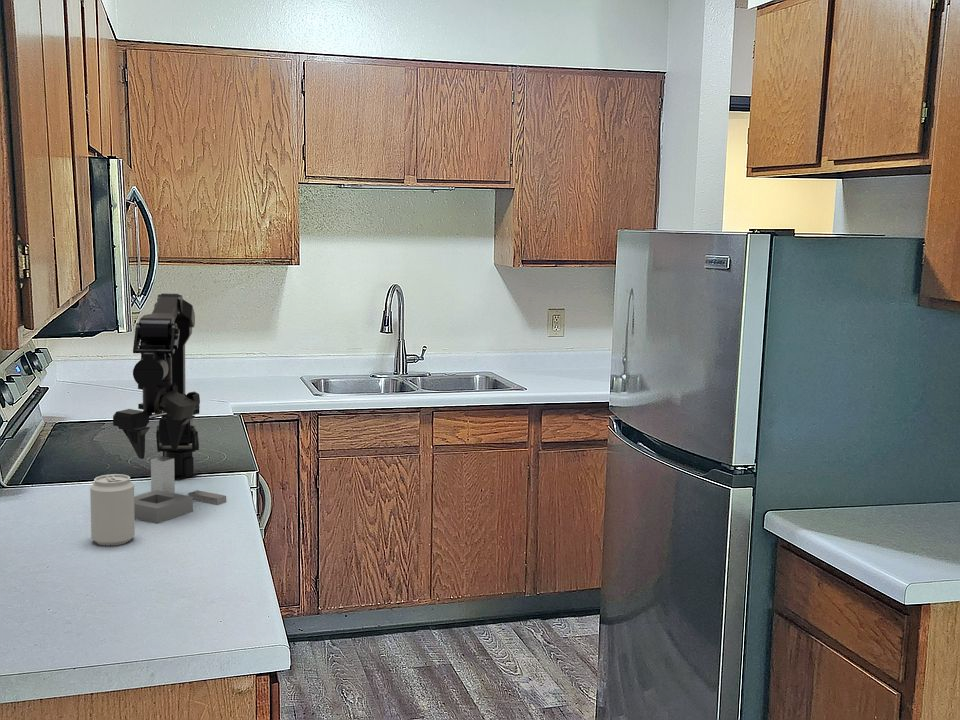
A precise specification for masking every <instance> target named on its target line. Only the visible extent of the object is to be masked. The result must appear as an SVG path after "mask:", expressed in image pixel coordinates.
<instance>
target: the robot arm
mask: <svg viewBox="0 0 960 720" xmlns="http://www.w3.org/2000/svg"><path fill="white" fill-rule="evenodd" d="M195 313H196V312H195V310H194V307H193V305H192V304H191V303H189V302H188V301H186V300H185V299H184V298H183V294H179V293H168V292H167V293H160V294H157V298H156V302H155V303H154V306H153V310H152V312H151V313H150V314H143V316H141V317H140V318H139V321H138V322H137V323H135V329H134V338H133V339H134V340H133V346H132V348H133V349H132V354H140V360H139V361H138V362H136V364H135V365H134V367H133V370H132V377H133V379H134V382H135V383H136V384H137V389H138V390H142V403H141V402H140V403H137V405H138V406H137V408H138V409H133V408H127V409H121V410H118V411H115V412H114V414H113V415H112V426H115V427H118V429H119V430H122V431H123V433H124V435H125V436H126V438H127V439H128V440H129V443H130V444H131V446H132V448H133V450H134V451H135V453H136V454H135V455H136V456H137V457H138V458H139V459H141V460H144V459H145V454H146V453H145V452H146V434H147V432H148V431H149V430H150V428H151V427H150V426H147V425H148V424H149V423H150V420H153V419H157V418H160V419H159V420H158V425H157V426H156V432H155V437H156V438H155V439H156V448H157V449H156V450H157V452H158V453H160V452H162V456H163V457H169V458H174V480H177V481H178V480H182V479H183V480H184V479H186V478H189V477H192V476H193V477H194V476H196V475H198V472H197V471H194V466H195V465H194V456H193V453H195V452H196V451H200V437H199V431H198V430H197V428H196V425H194V419H195V418H196V415H199V414H200V407H201V405H200V403H201V398H200V393H198V392H196V391H195V390H194V391H190V392H188V393H186V344H187V342H188V341H189V339H190V337H191V336H192V334H193V328H195V324H196V314H195Z"/></svg>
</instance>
